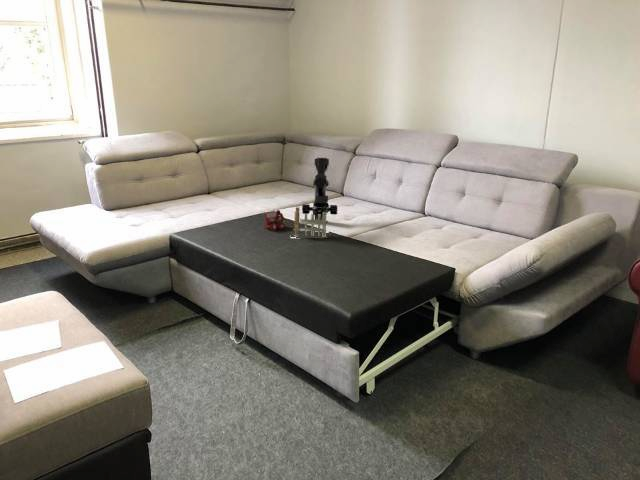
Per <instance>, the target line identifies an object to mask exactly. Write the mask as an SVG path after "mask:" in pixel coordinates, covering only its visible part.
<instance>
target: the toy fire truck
mask: <svg viewBox="0 0 640 480" xmlns="http://www.w3.org/2000/svg"><path fill="white" fill-rule="evenodd" d="M264 218H265V224H264V227H265V229H270V230H271V231H277V229H279V230H283V229H282V228H284V229H285V228H286V219H285V217H284V215H283V212H281V210H280V209H277V210H273V211H266V212H264Z"/></svg>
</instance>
